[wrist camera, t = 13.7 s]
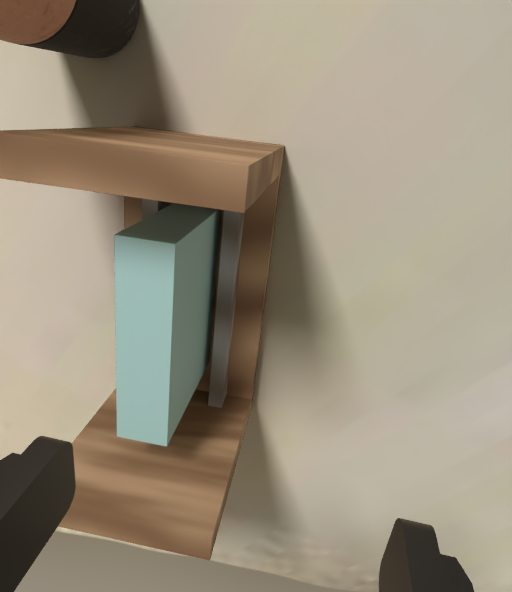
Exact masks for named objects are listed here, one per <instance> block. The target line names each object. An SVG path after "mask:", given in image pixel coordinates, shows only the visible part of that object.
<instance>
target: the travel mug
mask: <svg viewBox="0 0 512 592" xmlns="http://www.w3.org/2000/svg"><path fill="white" fill-rule="evenodd" d="M138 13H139V1H138V0H0V40H3V41H7V42H11V43H15V44H20V45H25V46H30V47H35V48H41V49H46V50H51V51H56V52H61V53H67V54H72V55H77V56H83V57H90V58H103V57H107V56H110V55H113V54H114V53H116V52H118V51H119V50H121V49H122V48H123V47H124V46H125V45H126V44H127V42H128V41H129V40H130V38H131V36H132V34H133V32H134V30H135V27H136V24H137V20H138Z"/></svg>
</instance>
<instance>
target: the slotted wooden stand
mask: <svg viewBox="0 0 512 592" xmlns="http://www.w3.org/2000/svg"><path fill="white" fill-rule="evenodd" d="M283 154H284V145H276V144H268V143H260V142H252V141H244V140H236V139H228V138H220V137H212V136H204V135H195V134H187V133H179V132H171V131H163V130H155V129H147V128H139V127H103V128H71V129H39V130H7V131H0V178H1V179H8V180H16V181H23V182H30V183H37V184H44V185H51V186H58V187H65V188H72V189H79V190H86V191H93V192H100V193H107V194H114V195H121V196H124V216H125V229H126V228H128V227H130V226H132V225H134V224H136V223H138V222H139V221H141V220H143V219H145V218H147V217H149V216H151V215H153V214H154V213H156V212H158V211H160V210H162V209H164V208H166V207H168V206H170V205H171V204H173V203H178V204H185V205H192V206H199V207H206V208H213V209H220V210H221V213H220V226H219V238H218V251H217V263H216V276H215V288H214V301H213V313H212V326H211V338H210V351H209V363H208V365H207V367H206V369H205V371H204V373H203V375H202V377H201V379H200V381H199V383H198V385H197V387H196V389H195V391H194V393H193V395H192V397H191V399H190V401H189V403H188V405H187V407H186V409H185V411H184V413H183V415H182V417H181V419H180V421H179V423H178V425H177V427H176V429H175V431H174V433H173V435H172V438H171V440H170V442H169V444H168V446H167V447H166V446H161V445H156V444H151V443H146V442H141V441H136V440H131V439H126V438H121V437H117V404H116V389H115V390H114V391H113V393H112V394H111V395H110V396H109V398H108V399H107V400H106V401H105V403H104V404H103V405H102V406H101V408H100V409H99V410H98V411H97V413H96V414H95V415H94V416H93V418H92V419H91V420H90V421H89V423H88V424H87V425H86V427H85V428H84V429H83V430H82V432H81V433H80V434H79V435H78V437H77V438H76V439H75V440H74V442H73V443H72V446H73V455H74V468H75V482H76V489H75V494H74V498H73V501H72V504H71V506H70V508H69V510H68V512H67V513H66V515H65V516H64V518H63V519H62V521H61V522H60V524H59V525H58V526H59V527H64V528H68V529H72V530H77V531H81V532H86V533H90V534H95V535H99V536H104V537H108V538H113V539H117V540H121V541H126V542H130V543H135V544H139V545H144V546H148V547H153V548H157V549H162V550H166V551H170V552H175V553H179V554H184V555H188V556H193V557H197V558H202V559H206V560H210V558H211V554H212V551H213V547H214V543H215V540H216V536H217V532H218V529H219V525H220V521H221V518H222V514H223V510H224V506H225V503H226V499H227V495H228V492H229V488H230V484H231V481H232V477H233V473H234V470H235V466H236V462H237V459H238V455H239V451H240V448H241V444H242V440H243V437H244V433H245V429H246V426H247V422H248V418H249V415H250V411H251V407H252V399H253V391H254V383H255V375H256V367H257V359H258V351H259V344H260V336H261V328H262V320H263V312H264V304H265V296H266V288H267V280H268V273H269V265H270V257H271V249H272V241H273V233H274V225H275V217H276V209H277V202H278V194H279V186H280V178H281V170H282V162H283Z"/></svg>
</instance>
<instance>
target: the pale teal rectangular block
mask: <svg viewBox="0 0 512 592" xmlns="http://www.w3.org/2000/svg"><path fill="white" fill-rule="evenodd" d="M220 213H221V210H220V209H213V208H206V207H199V206H192V205H185V204H178V203H173V204H171V205H170V206H168V207H166V208H164V209H162V210H160V211H158V212H156V213H154V214H153V215H151V216H149V217H147V218H145V219H143V220H141V221H139V222H138V223H136V224H134V225H132V226H130V227H128V228H126V229H124V230H122V231H121V232H119V233H117V234H115V235H114V257H115V330H116V404H117V437H121V438H126V439H131V440H136V441H141V442H146V443H151V444H156V445H161V446H166V447H167V446H168V444H169V442H170V440H171V438H172V435H173V433H174V431H175V429H176V427H177V425H178V423H179V421H180V419H181V417H182V415H183V413H184V411H185V409H186V407H187V405H188V403H189V401H190V399H191V397H192V395H193V393H194V391H195V389H196V387H197V385H198V383H199V381H200V379H201V377H202V375H203V373H204V371H205V369H206V367H207V365H208V363H209V351H210V338H211V326H212V313H213V301H214V288H215V276H216V263H217V251H218V238H219V226H220Z"/></svg>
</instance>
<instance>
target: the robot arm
mask: <svg viewBox="0 0 512 592" xmlns="http://www.w3.org/2000/svg"><path fill="white" fill-rule="evenodd" d="M75 489H76V482H75V468H74V455H73V446H72V444H71V443H70V442H67V441H62V440H58V439H54V438H49V437H45V436H40V437H38V438H36V439H35V440H34V441H33V442H32V443H31V444H30V445H29V446H28V448H27V449H26V450H25V451H24V452H23V453H22V454H21V455H20V454H15V453H12V454H10V455H8V456H7V457H5V458H3V459H2V460H0V592H14V591H15V589H16V588H17V586H18V585H19V583H20V582H21V580H22V578H23V577H24V576H25V574H26V573H27V571H28V570H29V568H30V567H31V565H32V564H33V562H34V561H35V559H36V558H37V556H38V555H39V553H40V552H41V550H42V549H43V547H44V546H45V544H46V543H47V542H48V540H49V538H50V537H51V536H52V534H53V533H54V531H55V530H56V528H57V527H58V525H59V524H60V522H61V521H62V519H63V518H64V516H65V515H66V513H67V512H68V510H69V508H70V506H71V504H72V501H73V498H74V494H75ZM379 592H474V589H473V586H472V583H471V581H470V580H469V578H468V576H467V575H466V573H465V572H464V570H463V568H462V567H461V565H460V564H459V562H458V561H457V559H456V558H455V557H450V556H446V555H442V554H440V552H439V547H438V543H437V538H436V534H435V531H434V528H433V527H432V526H431V525H427V524H422V523H418V522H414V521H409V520H405V519H400V518H398V519H397V520H396V521H395V524H394V527H393V530H392V533H391V535H390V538H389V541H388V544H387V547H386V550H385V552H384V555H383V558H382V561H381V566H380V574H379Z"/></svg>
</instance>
